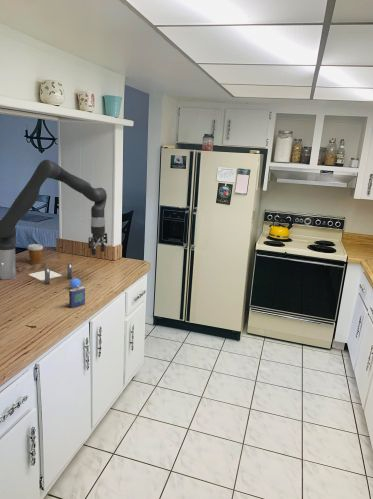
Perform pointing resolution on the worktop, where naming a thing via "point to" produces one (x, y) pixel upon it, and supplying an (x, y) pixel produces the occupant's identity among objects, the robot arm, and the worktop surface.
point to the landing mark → (42, 275)
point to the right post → (69, 271)
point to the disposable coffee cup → (35, 253)
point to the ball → (75, 283)
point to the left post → (47, 276)
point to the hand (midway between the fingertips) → (98, 253)
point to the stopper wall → (32, 267)
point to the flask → (76, 297)
